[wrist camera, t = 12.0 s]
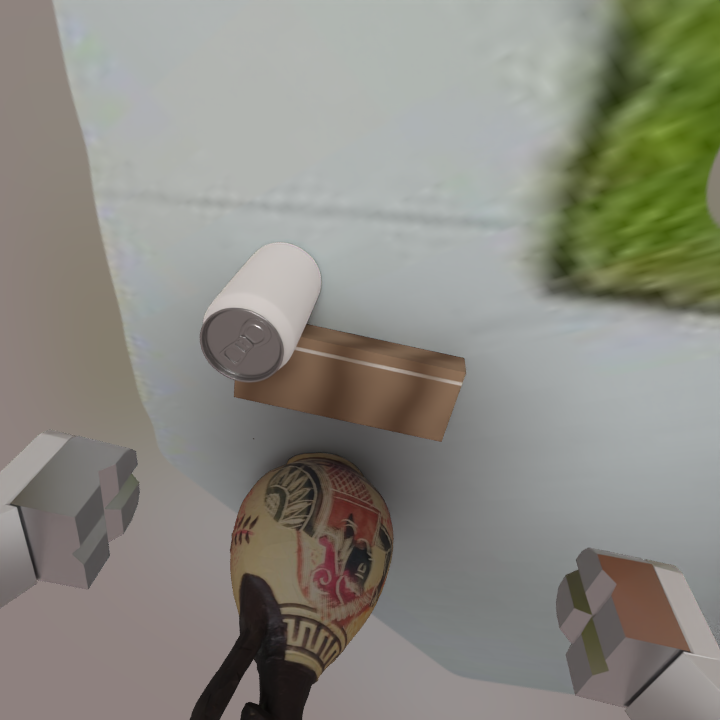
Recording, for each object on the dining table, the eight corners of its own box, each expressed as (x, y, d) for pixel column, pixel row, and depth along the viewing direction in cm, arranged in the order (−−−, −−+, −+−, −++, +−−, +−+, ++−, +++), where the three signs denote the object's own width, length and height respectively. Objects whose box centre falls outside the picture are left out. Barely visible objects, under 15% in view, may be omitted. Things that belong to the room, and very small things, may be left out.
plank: (464, 358, 45) (466, 373, 43) (440, 425, 49) (441, 442, 47) (246, 311, 45) (237, 324, 43) (241, 382, 49) (233, 397, 47)
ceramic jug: (427, 489, 54) (428, 876, 29) (330, 545, 61) (260, 899, 35) (313, 389, 49) (190, 754, 24) (220, 463, 56) (46, 809, 30)
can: (338, 278, 42) (310, 350, 32) (290, 324, 45) (250, 403, 35) (279, 224, 41) (230, 281, 30) (233, 275, 43) (174, 344, 33)
